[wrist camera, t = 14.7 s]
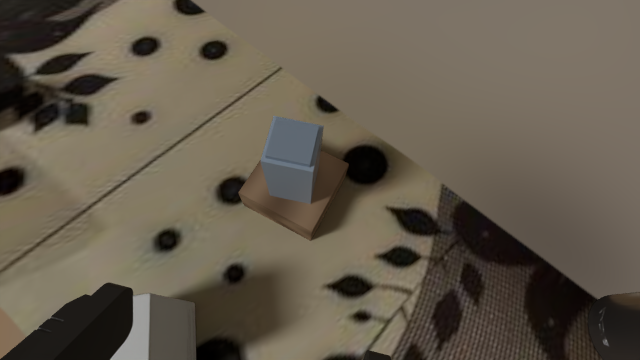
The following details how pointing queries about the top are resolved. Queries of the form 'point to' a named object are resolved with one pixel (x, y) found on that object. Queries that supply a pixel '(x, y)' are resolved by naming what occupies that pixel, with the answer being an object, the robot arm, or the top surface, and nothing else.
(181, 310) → the supplement box
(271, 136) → the pale blue upright prism
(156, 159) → the top surface
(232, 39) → the top surface
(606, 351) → the robot arm
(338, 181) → the walnut box
